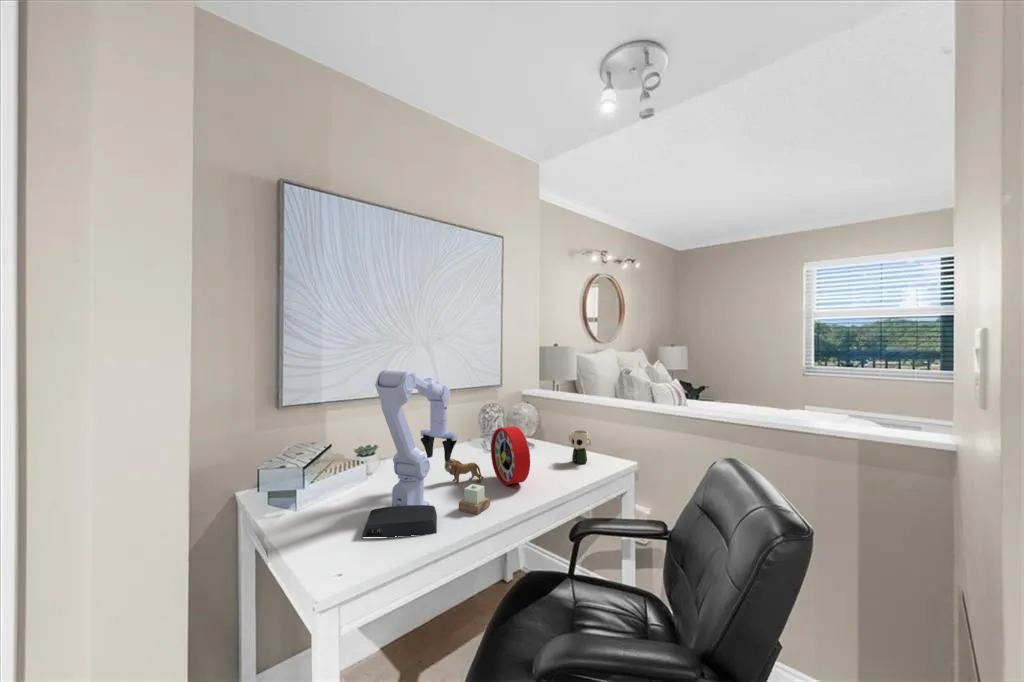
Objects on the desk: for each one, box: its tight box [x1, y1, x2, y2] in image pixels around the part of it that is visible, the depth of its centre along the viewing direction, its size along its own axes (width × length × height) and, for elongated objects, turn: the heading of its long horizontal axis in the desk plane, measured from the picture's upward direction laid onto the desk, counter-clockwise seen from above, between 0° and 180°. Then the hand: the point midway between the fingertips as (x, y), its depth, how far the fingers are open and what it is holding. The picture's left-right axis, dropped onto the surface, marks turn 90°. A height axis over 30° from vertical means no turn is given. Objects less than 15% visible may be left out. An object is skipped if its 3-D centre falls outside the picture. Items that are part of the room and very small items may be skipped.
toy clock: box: [490, 425, 531, 486], centre depth 150 cm, size 20×6×20 cm, turn 27°
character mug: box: [568, 429, 592, 464], centre depth 174 cm, size 11×7×13 cm, turn 49°
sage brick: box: [463, 483, 485, 504], centre depth 127 cm, size 4×4×4 cm
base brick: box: [458, 496, 491, 516], centre depth 127 cm, size 7×7×2 cm
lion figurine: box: [444, 457, 485, 485], centre depth 151 cm, size 15×5×9 cm, turn 110°
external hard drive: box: [361, 504, 438, 538], centre depth 115 cm, size 13×19×4 cm
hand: (438, 458), depth 144 cm, fingers open, 7 cm apart
